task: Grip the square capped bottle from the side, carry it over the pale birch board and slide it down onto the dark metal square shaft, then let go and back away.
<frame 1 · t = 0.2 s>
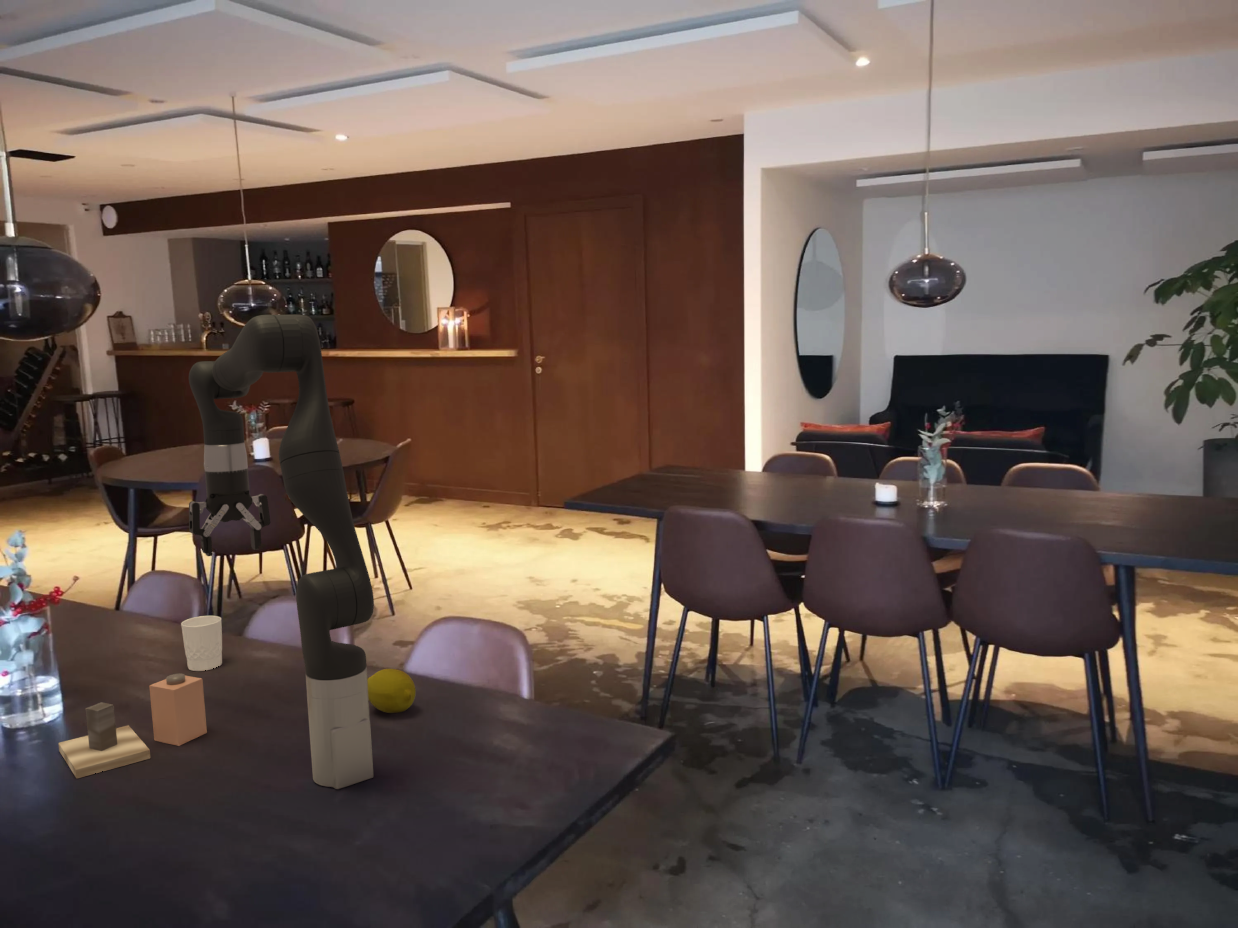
hand: (232, 552, 185), 29 cm above the table, tool pointing down, fingers open, 8 cm apart
square capped bottle: (180, 736, 171), on the table
lemon: (391, 711, 180), on the table
shaft board: (104, 754, 164), on the table
white cup: (205, 666, 208), on the table
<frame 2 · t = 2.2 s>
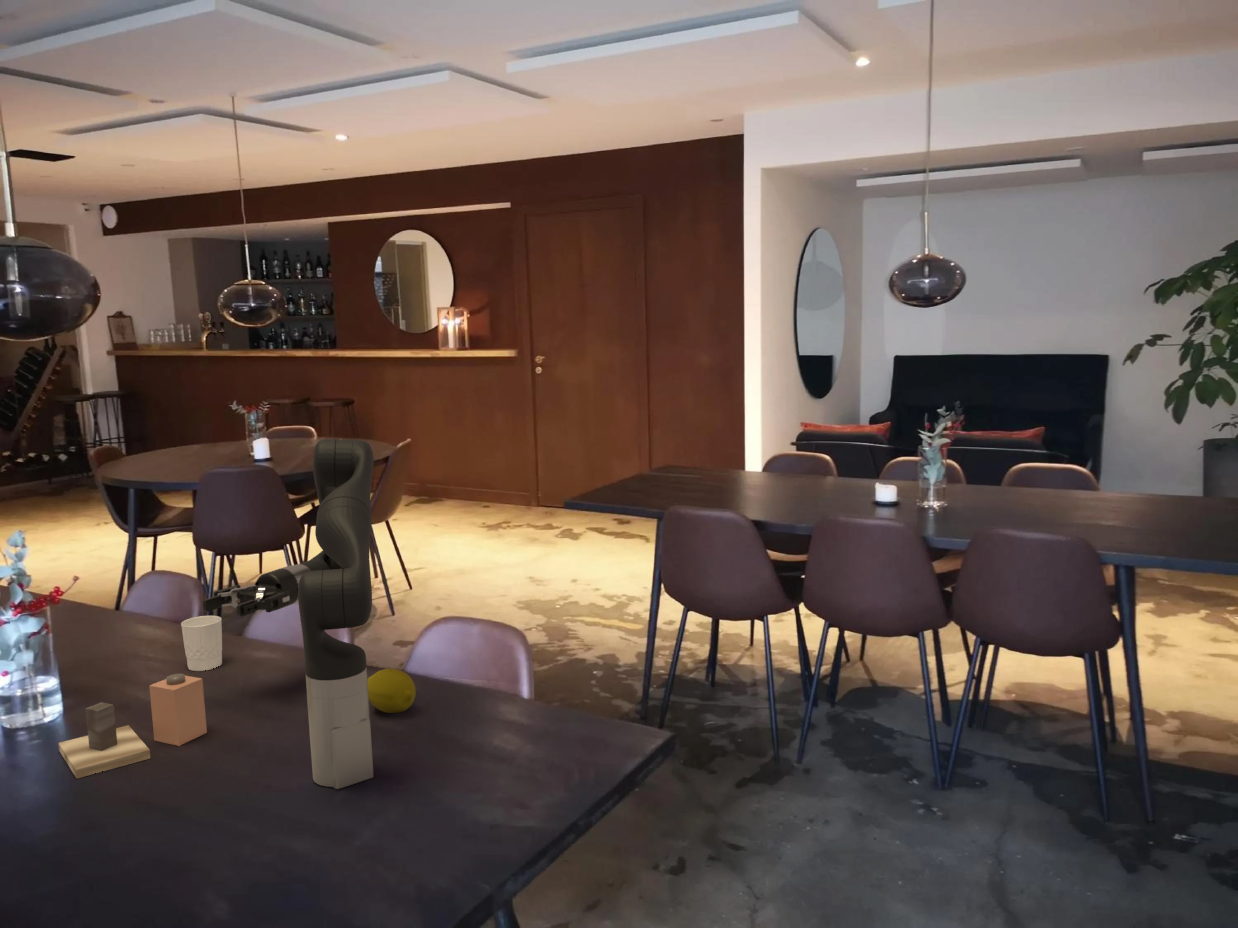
hand: (221, 608, 178), 20 cm above the table, tool horizontal, fingers open, 8 cm apart
nothing on the table moved.
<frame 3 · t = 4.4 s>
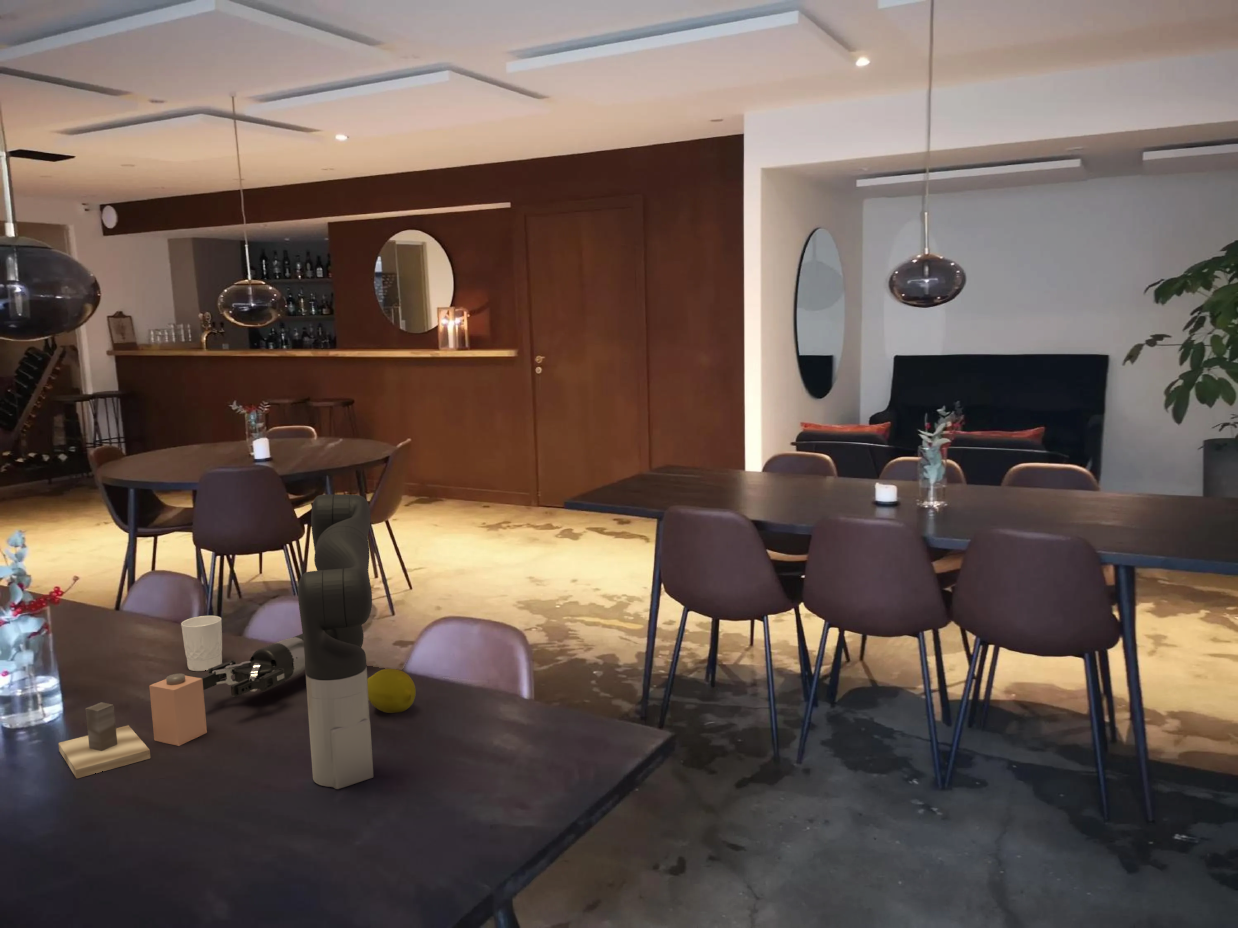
hand: (215, 688, 177), 6 cm above the table, tool horizontal, fingers open, 8 cm apart
nothing on the table moved.
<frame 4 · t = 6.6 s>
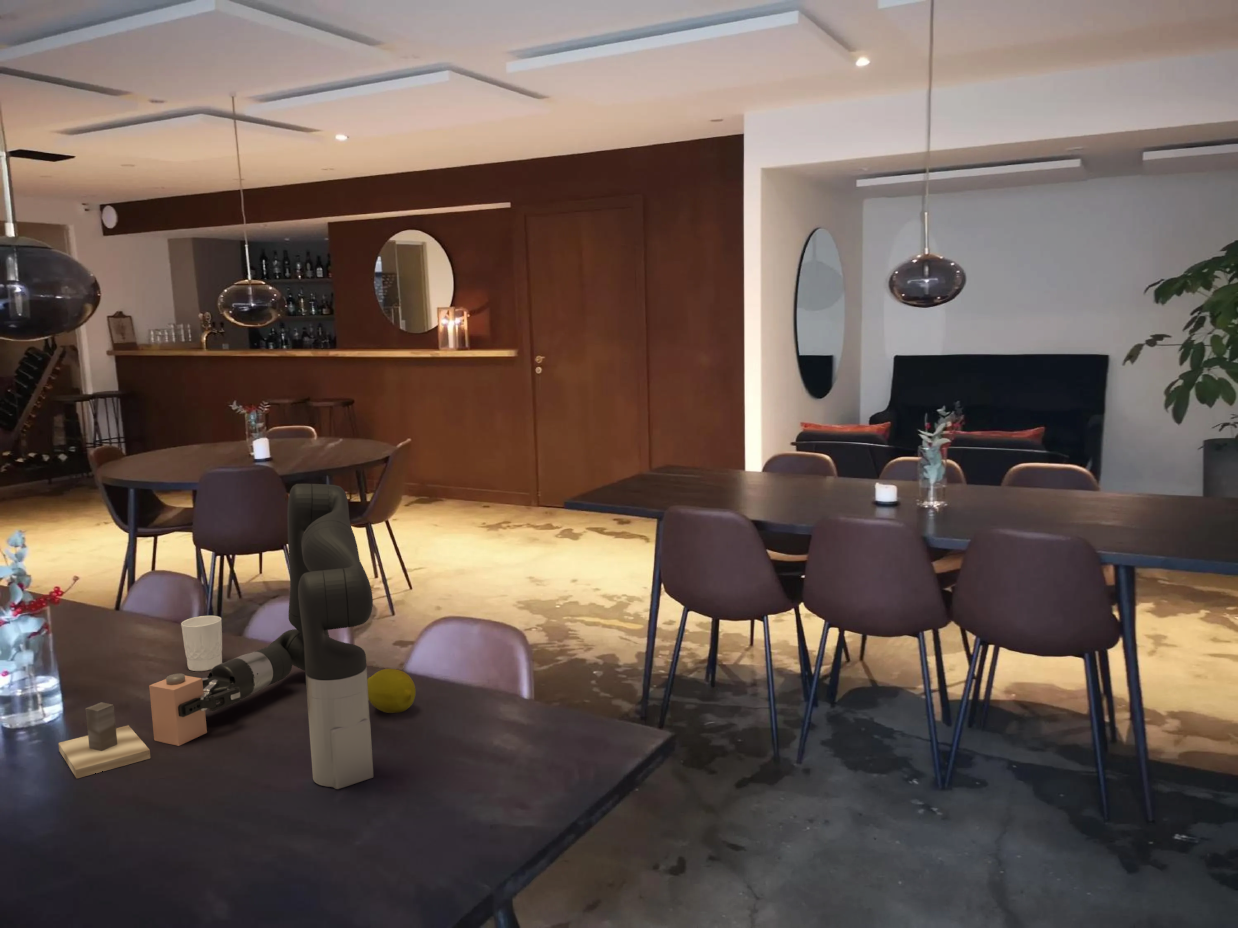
hand: (166, 708, 168), 6 cm above the table, tool horizontal, fingers closed on square capped bottle, 6 cm apart
square capped bottle: (180, 736, 171), on the table, touching gripper
everything else where it was.
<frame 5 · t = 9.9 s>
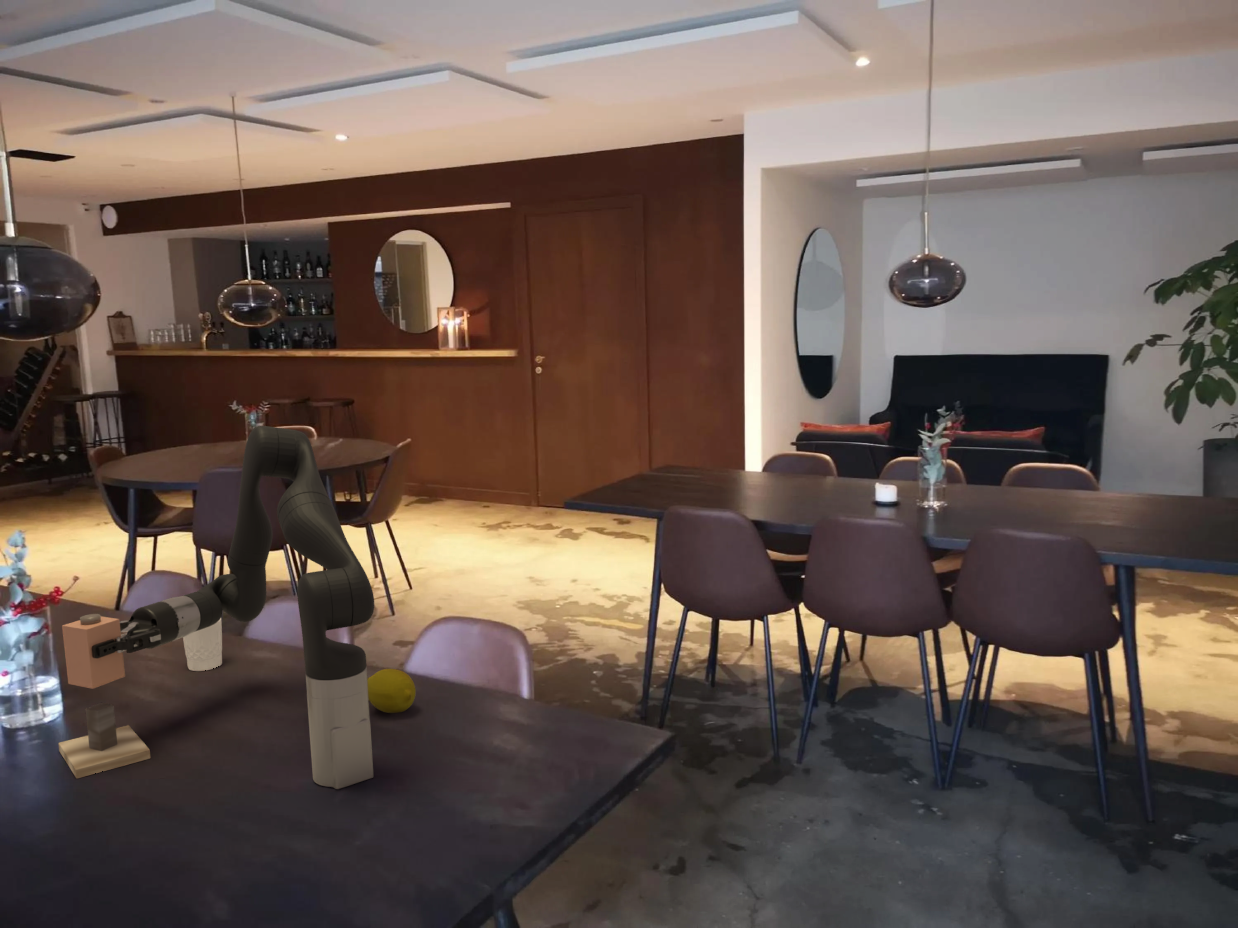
hand: (80, 649, 159), 19 cm above the table, tool horizontal, fingers closed on square capped bottle, 6 cm apart
square capped bottle: (96, 679, 162), point 13 cm above the table, touching gripper
everything else where it was.
when the fingers open (8 cm above the table, at t = 13.5 s): square capped bottle stays where it is, resting on shaft board.
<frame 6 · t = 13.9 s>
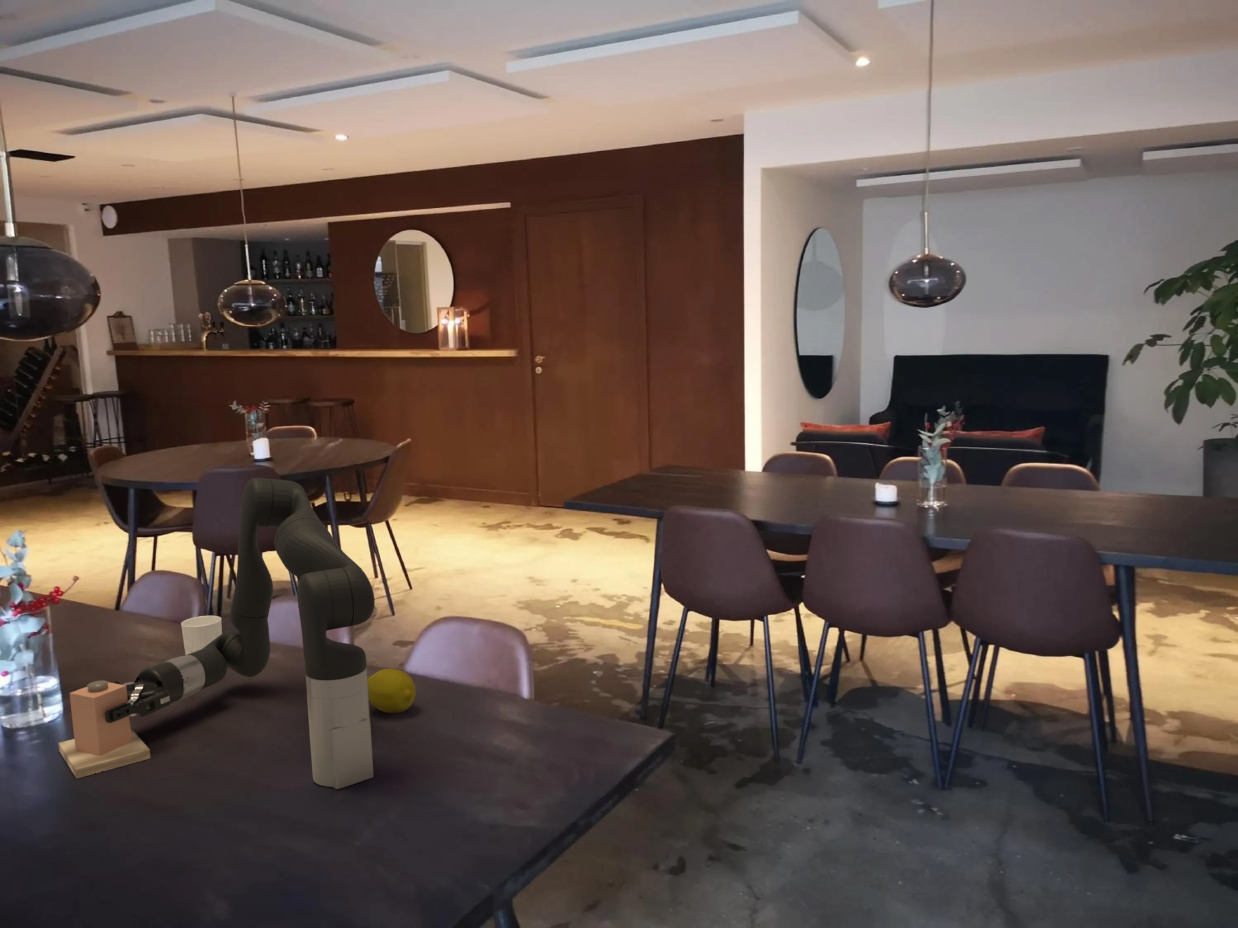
hand: (89, 713, 161), 8 cm above the table, tool horizontal, fingers open, 8 cm apart
square capped bottle: (103, 745, 164), point 1 cm above the table, touching shaft board
everything else where it was.
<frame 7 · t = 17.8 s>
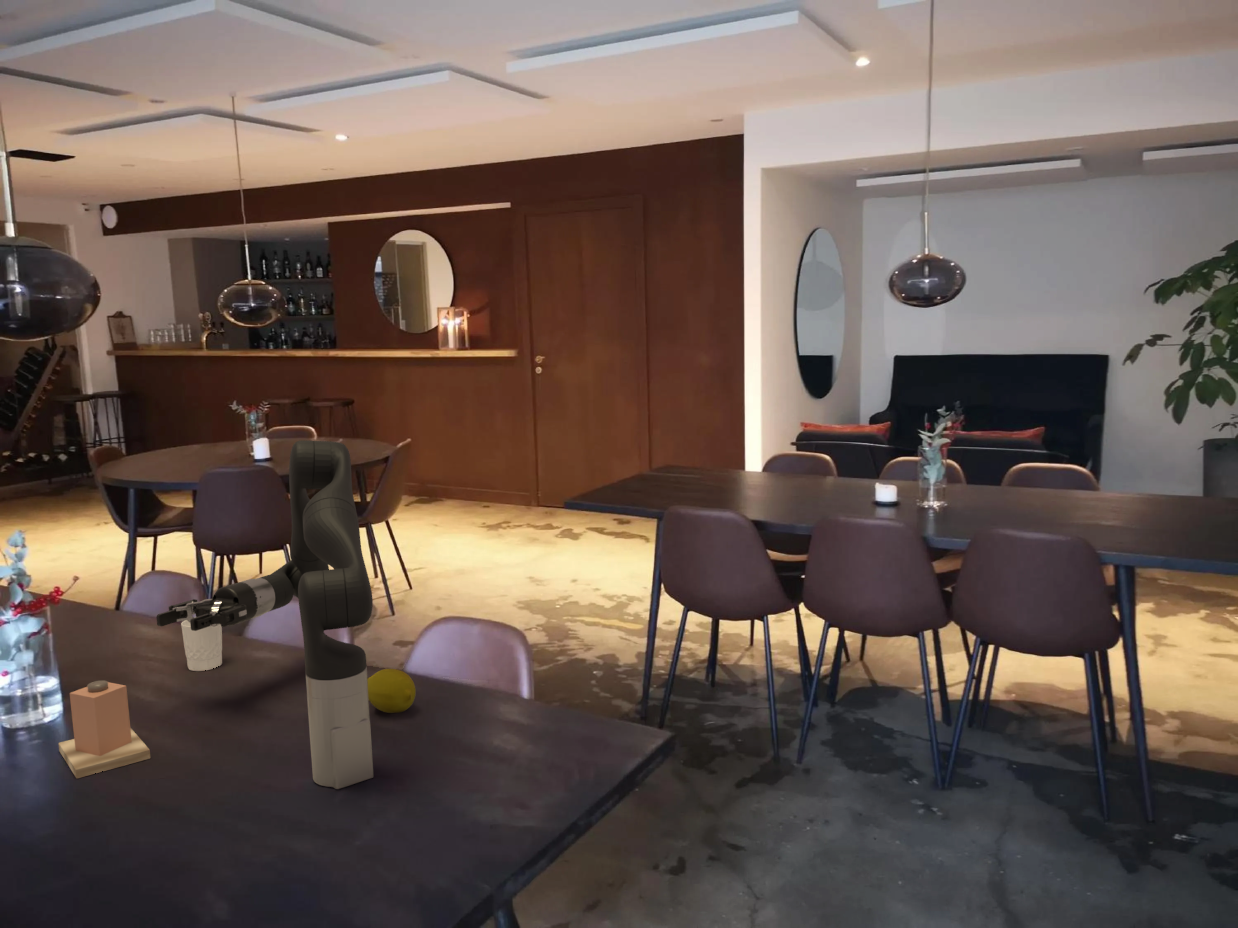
hand: (174, 623, 174), 19 cm above the table, tool horizontal, fingers open, 8 cm apart
nothing on the table moved.
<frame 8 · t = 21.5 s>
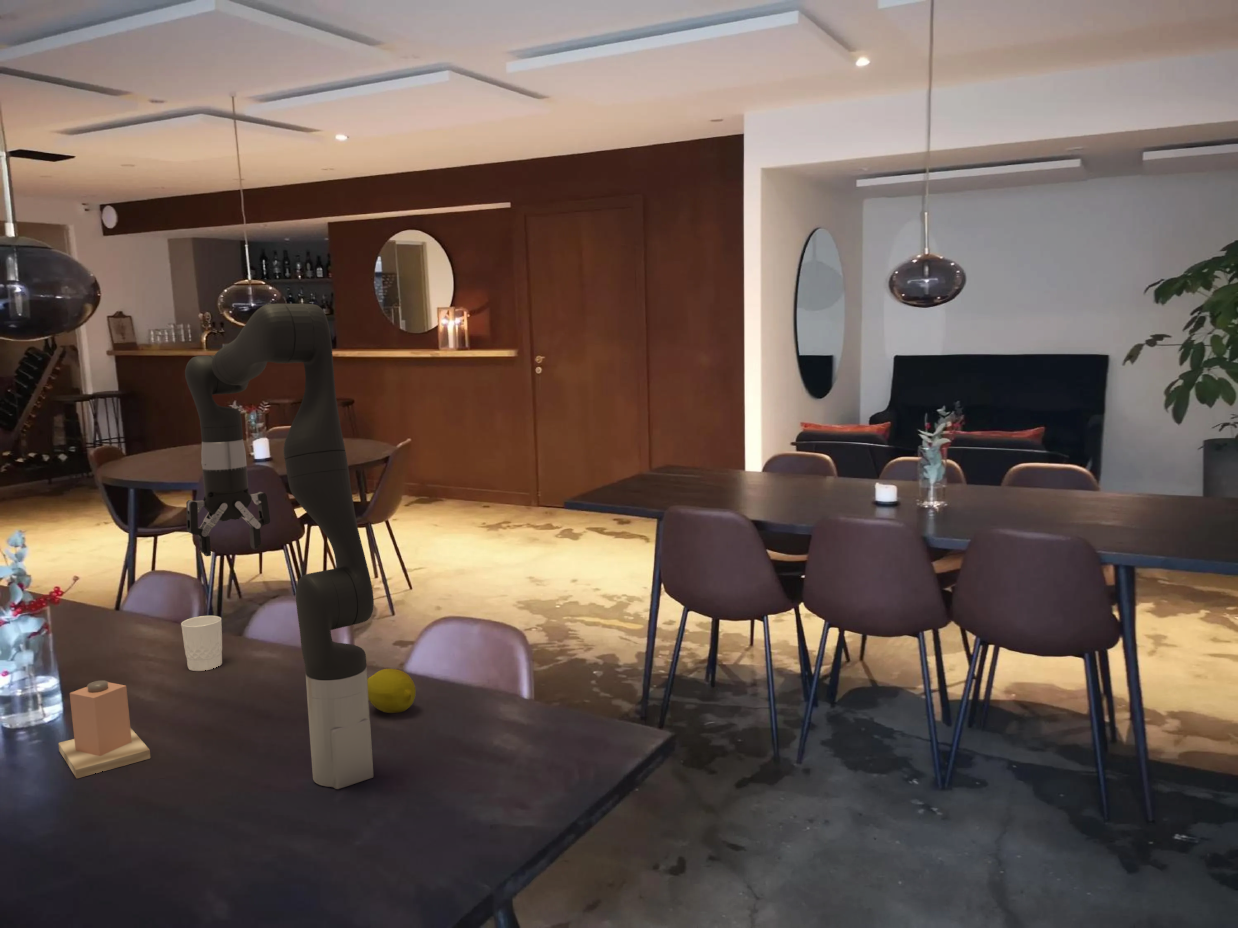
hand: (231, 551, 180), 30 cm above the table, tool pointing down, fingers open, 8 cm apart
nothing on the table moved.
at the end: square capped bottle 0.1 cm off-centre on the shaft board, point 1.5 cm above the shaft board's base; square capped bottle tilted 0°; the gripper is holding nothing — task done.
